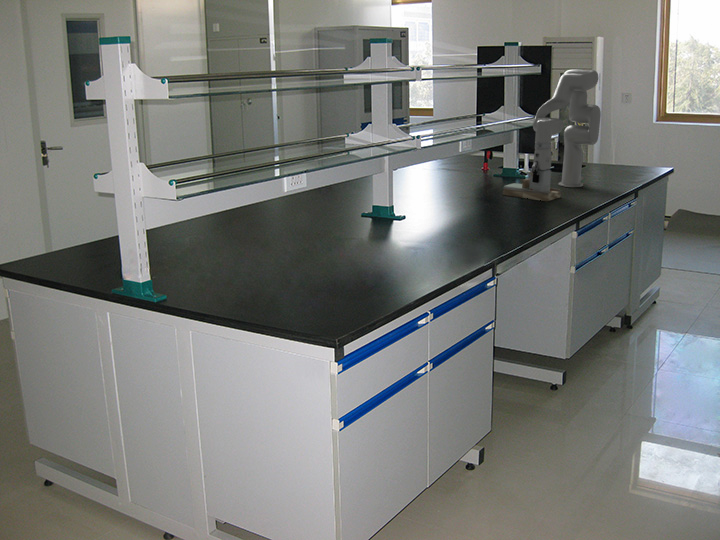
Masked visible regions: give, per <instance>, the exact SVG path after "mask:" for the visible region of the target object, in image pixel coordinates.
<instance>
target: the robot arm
mask: <svg viewBox="0 0 720 540" xmlns="http://www.w3.org/2000/svg"><path fill="white" fill-rule="evenodd" d="M557 82H558V83H557V85H556V87H555V89H554V92H553V94H552V96H551V98H550V99H548V100H547V101H546V102H545V103H543V104H542V105H541V106H540V107H539V108H538V110H537V112H536V114H535V117H534V120H533V122H532V128H533V131H534V132H535V138H534V154H533V163H532V166H531V170H532V174H533V179H532V182H535V183H539V175H538V174H539V172H540V169H541V170H551V167H552V135H557V134H560V133H561V132H562V131H563V129H564V131H563V142H564V149H563V163H562V173H561V181H559V182H558V183H557V184H558V186H561V187H566V188H581V187H583V186H584V183H583V182H581V181H582V180H583V179H584V177H583V176H582V165H583V155H584V153H583V149H582V147H581V145H584V146H593V145H596V144H597V142H598V140H599V135H600V123H601V114H602V111H601V108H600V107H599V106H598V105H597V104H590V103H589V104H588V92H587V91H589V90H591V89H593V88H595V87H596V86H597V84H598V82H599V74H598V71H596V70H595V69H594V70H593V69H578V68H577V69H576V68H575V69H574V68H573V69H567V70H566V71H564V73H563V74H562V75H561V76H560V77H559V80H558V81H557ZM567 106H569V107H568V119H569V121H570V122H572V123H578V124H579V123H580V124H582V125H580V124H579V125H578V124H570V125H567V126H566V127H565V128H564V122H563V120H562V119H561V118H557V117H547V116H548V115H549V114H551V113H553V112H555V111H558V110H561V109H563V108H566V107H567ZM583 124H588V125H583ZM536 170H538V171H536Z"/></svg>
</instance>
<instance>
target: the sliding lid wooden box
mask: <svg viewBox="0 0 720 540" xmlns="http://www.w3.org/2000/svg"><path fill="white" fill-rule="evenodd" d="M516 184H519V183H516ZM504 186H505V185H504ZM504 186H503V188H502V190H503V191H502V195H503V196H508V197H515V198H520V199H521V198H522V199H527V198H528V200H533V201H540V200H541V201H540V202H550V201H553V200H557V199H559V198H561V194H562V191H561V189H560V188H555V187H554V188H552V187H550V192H548V193H547V192H540V191H533V190H526V189H519V188H513V187H506V186H505V187H504Z"/></svg>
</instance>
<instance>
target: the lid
mask: <svg viewBox="0 0 720 540" xmlns="http://www.w3.org/2000/svg"><path fill="white" fill-rule="evenodd" d="M529 184H530V177H529V178H525V179H522V183H518V184H516V183H515V182H514V183H509V184H506V185H503V188H504V187H505V186H506V187H513V188H519V189H526V190H529Z"/></svg>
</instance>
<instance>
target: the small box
mask: <svg viewBox="0 0 720 540" xmlns="http://www.w3.org/2000/svg"><path fill="white" fill-rule="evenodd" d="M529 171H530V172H529V178H530V184H529V190H533V191H540V192H547V193H548V192H550V188H551V179H552V169H550V170H541V169H540V172H539V174H538V175H539V183H535V182H532V179H533V174H532V169H530V170H529ZM536 171H538V170H536Z"/></svg>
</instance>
